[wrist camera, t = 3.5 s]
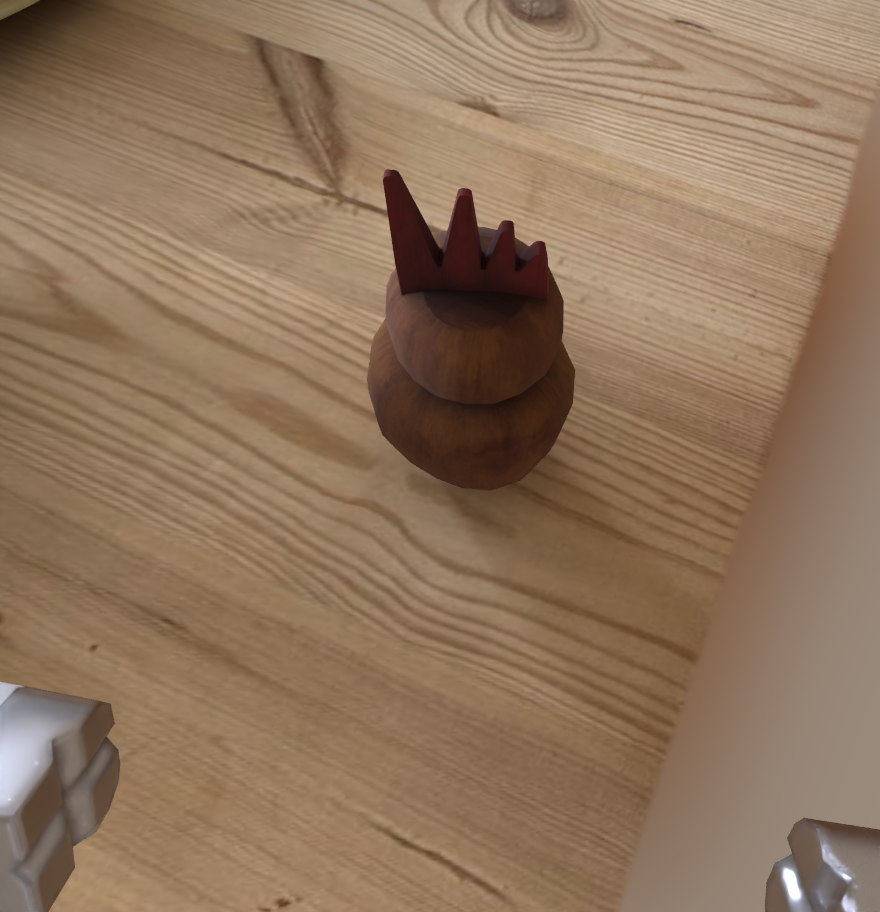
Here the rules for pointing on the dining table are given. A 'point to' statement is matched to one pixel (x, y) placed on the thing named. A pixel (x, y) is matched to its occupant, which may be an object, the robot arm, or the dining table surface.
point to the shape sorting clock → (13, 6)
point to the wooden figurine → (468, 347)
